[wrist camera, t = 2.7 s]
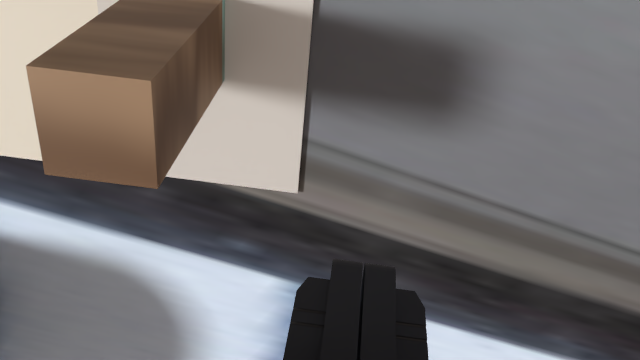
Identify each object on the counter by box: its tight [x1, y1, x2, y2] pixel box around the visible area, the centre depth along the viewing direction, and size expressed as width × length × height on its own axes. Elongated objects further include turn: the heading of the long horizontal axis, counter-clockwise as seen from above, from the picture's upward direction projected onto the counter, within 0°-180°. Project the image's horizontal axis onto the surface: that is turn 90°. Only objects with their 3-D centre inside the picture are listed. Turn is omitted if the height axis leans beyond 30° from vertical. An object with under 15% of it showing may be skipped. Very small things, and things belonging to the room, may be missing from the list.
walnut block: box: [26, 0, 225, 189], centre depth 24 cm, size 4×4×10 cm
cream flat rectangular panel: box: [0, 0, 314, 193], centre depth 29 cm, size 16×20×1 cm
